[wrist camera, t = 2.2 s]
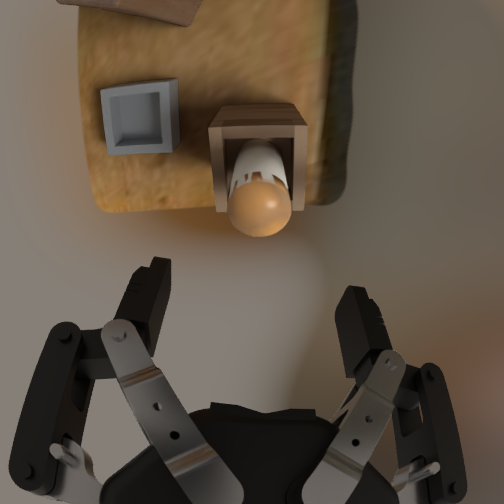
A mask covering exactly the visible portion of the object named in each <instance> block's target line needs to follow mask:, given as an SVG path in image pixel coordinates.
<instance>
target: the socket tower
mask: <svg viewBox="0 0 504 504" xmlns="http://www.w3.org/2000/svg"><path fill="white" fill-rule="evenodd" d="M307 131H308V125H307V124H306V122H305V121H304V119H303V118H302V116H301V115H300V113H299V111H298V110H297V108H296V107H295V105H294V104H249V105H227V106H222V107H221V109H220V110H219V112H218V113H217V115H216V116H215V118H214V119H213V121H212V123H211V124H210V126H209V127H208V132H209V143H210V154H211V164H212V174H213V184H214V193H215V203H216V212H227V204H228V198H229V193H230V188H231V182H232V177H233V172H234V167H235V162H236V157H237V153H238V151H239V149H240V147H241V146H242V145H243V144H244V143H246V142H247V141H249V140H252V139H265V140H268V141H271V142H272V143H274V144H275V145H276V146H277V147H278V149H279V150H280V153H281V156H282V161H283V166H284V171H285V176H286V181H287V186H288V192H289V197H290V202H291V211H297V210H299V211H303V210H304V199H305V180H306V159H307Z"/></svg>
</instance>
